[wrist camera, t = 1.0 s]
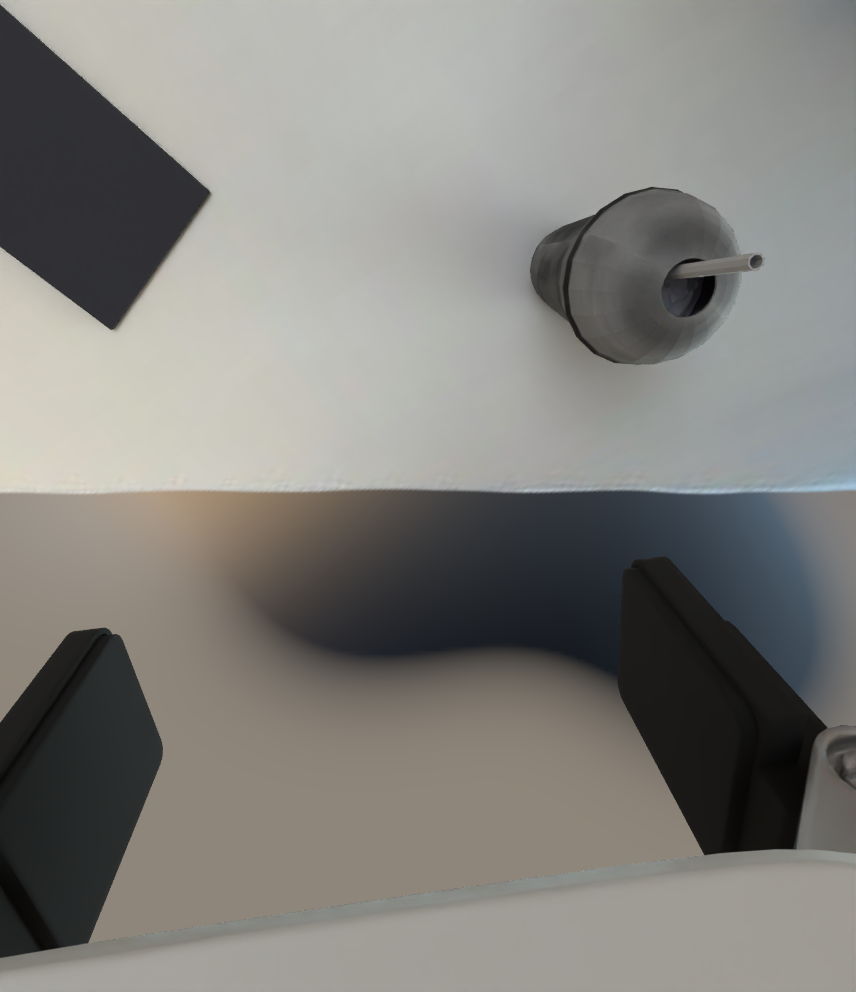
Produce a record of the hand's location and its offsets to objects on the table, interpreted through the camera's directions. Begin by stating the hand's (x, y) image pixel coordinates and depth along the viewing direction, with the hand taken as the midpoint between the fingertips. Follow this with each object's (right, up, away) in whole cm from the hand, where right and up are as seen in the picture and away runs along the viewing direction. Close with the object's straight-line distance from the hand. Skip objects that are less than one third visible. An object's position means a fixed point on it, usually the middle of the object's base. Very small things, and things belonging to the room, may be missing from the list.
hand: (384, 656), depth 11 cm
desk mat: (-23, +23, +19) cm, 38 cm away
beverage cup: (+9, +17, +25) cm, 32 cm away
